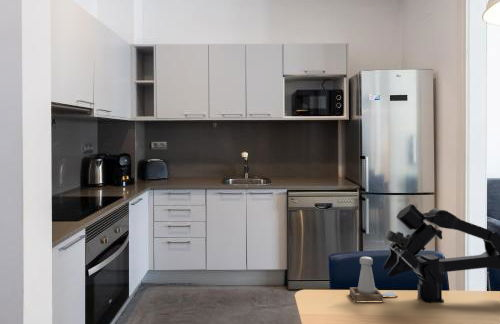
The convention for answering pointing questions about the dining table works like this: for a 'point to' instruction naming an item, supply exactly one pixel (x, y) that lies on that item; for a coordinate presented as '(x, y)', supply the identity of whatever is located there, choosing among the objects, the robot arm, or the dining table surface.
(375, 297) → the walnut socket
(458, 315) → the dining table surface
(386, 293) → the grey rectangular slab
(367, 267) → the salt shaker
